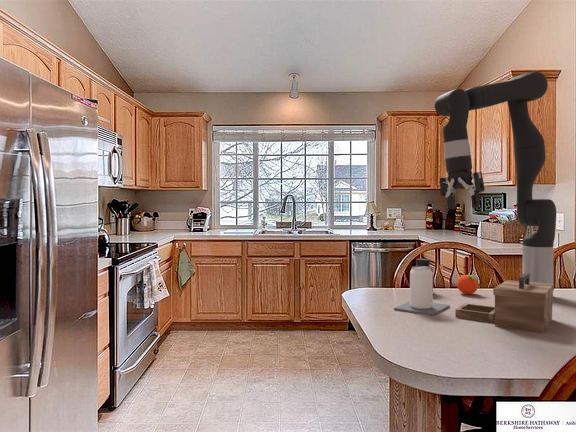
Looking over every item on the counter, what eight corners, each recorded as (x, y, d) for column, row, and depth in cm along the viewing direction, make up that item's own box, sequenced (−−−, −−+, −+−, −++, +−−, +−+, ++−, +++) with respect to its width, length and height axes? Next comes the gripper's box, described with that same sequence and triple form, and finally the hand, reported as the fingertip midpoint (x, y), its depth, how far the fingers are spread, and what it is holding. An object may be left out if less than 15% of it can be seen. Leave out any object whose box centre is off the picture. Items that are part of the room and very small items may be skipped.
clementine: (484, 296, 151) (484, 275, 151) (466, 297, 150) (466, 276, 150) (470, 292, 159) (470, 272, 159) (452, 292, 158) (453, 273, 157)
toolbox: (468, 308, 133) (468, 266, 132) (553, 319, 119) (553, 273, 119) (451, 319, 119) (451, 273, 119) (544, 333, 106) (545, 281, 106)
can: (431, 305, 134) (431, 266, 134) (433, 310, 128) (433, 269, 128) (409, 304, 136) (409, 265, 136) (410, 308, 130) (410, 268, 129)
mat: (411, 302, 142) (411, 300, 142) (449, 307, 135) (449, 305, 135) (394, 310, 131) (393, 308, 131) (434, 315, 124) (434, 313, 124)
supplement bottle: (424, 290, 163) (424, 257, 162) (437, 293, 156) (437, 259, 156) (409, 291, 160) (409, 258, 160) (421, 295, 154) (421, 260, 153)
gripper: (485, 151, 131) (491, 205, 132) (447, 159, 144) (452, 208, 144) (469, 152, 127) (475, 208, 128) (431, 160, 140) (437, 210, 140)
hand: (463, 208), depth 136 cm, fingers open, 8 cm apart
